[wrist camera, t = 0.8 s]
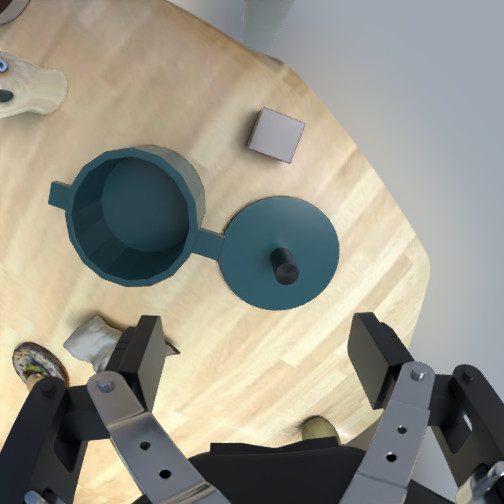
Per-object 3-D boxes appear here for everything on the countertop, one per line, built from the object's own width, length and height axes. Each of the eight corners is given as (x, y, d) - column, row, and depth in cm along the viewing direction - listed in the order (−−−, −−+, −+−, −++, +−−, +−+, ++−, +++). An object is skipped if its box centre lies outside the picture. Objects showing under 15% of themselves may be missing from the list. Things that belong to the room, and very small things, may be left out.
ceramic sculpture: (66, 325, 32) (179, 379, 36) (89, 289, 40) (184, 337, 44) (52, 376, 35) (149, 421, 39) (72, 339, 43) (156, 380, 47)
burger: (16, 331, 42) (-5, 355, 35) (73, 362, 45) (56, 391, 38) (17, 374, 46) (0, 398, 39) (67, 402, 48) (54, 429, 41)
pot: (94, 128, 33) (60, 128, 25) (243, 173, 36) (246, 184, 28) (71, 231, 37) (39, 254, 29) (207, 276, 40) (200, 311, 32)
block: (260, 110, 34) (263, 107, 29) (297, 124, 34) (305, 123, 30) (246, 147, 35) (247, 148, 31) (283, 160, 36) (290, 164, 31)
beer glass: (75, 64, 30) (3, 41, 16) (66, 118, 32) (-11, 118, 18) (34, 68, 29) (-41, 53, 15) (25, 118, 31) (-53, 122, 17)
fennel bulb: (336, 416, 51) (352, 468, 40) (322, 432, 53) (335, 482, 42) (308, 412, 50) (322, 466, 39) (295, 428, 52) (306, 481, 40)
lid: (243, 177, 36) (245, 185, 31) (354, 220, 39) (373, 234, 33) (205, 287, 41) (200, 311, 35) (308, 317, 43) (318, 343, 38)
